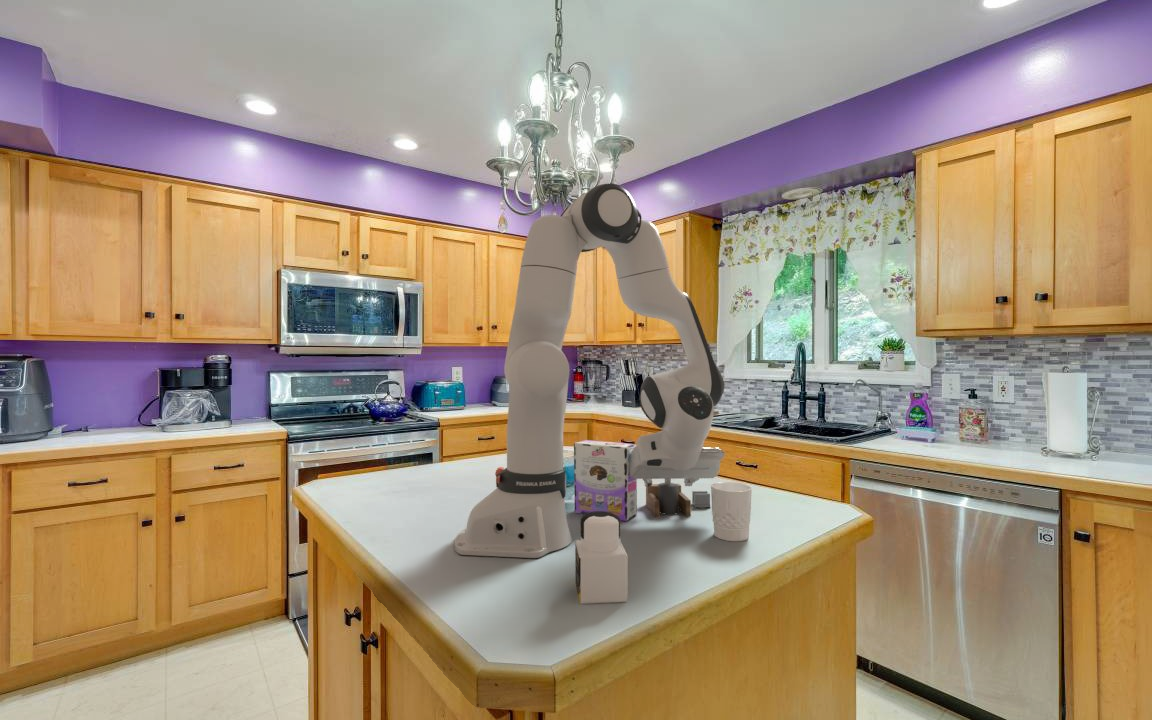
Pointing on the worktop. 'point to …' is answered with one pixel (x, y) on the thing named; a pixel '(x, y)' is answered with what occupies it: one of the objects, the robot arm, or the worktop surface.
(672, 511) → the plug
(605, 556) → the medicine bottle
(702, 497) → the clip
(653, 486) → the frame
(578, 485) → the candy box
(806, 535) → the worktop surface
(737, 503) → the white cup
